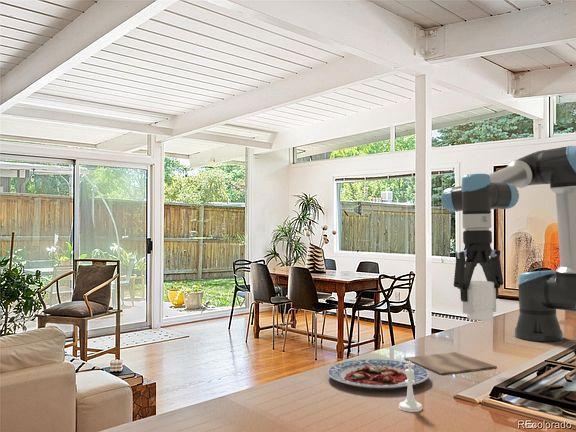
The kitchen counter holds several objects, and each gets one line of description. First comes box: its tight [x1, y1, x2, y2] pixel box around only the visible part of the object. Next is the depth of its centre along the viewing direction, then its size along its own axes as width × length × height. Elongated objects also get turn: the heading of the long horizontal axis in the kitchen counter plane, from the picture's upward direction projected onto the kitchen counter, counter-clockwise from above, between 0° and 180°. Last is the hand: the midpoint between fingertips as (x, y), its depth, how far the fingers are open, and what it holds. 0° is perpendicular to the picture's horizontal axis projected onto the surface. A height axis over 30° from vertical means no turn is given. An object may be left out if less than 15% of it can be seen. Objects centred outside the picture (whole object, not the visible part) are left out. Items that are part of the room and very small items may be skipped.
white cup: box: [466, 280, 494, 322], centre depth 142 cm, size 8×8×10 cm
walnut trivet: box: [404, 351, 498, 376], centre depth 147 cm, size 18×18×1 cm
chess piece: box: [398, 361, 423, 413], centre depth 111 cm, size 5×5×10 cm
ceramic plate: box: [327, 358, 430, 390], centre depth 133 cm, size 26×26×3 cm
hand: (479, 312), depth 142 cm, fingers closed on white cup, 8 cm apart
